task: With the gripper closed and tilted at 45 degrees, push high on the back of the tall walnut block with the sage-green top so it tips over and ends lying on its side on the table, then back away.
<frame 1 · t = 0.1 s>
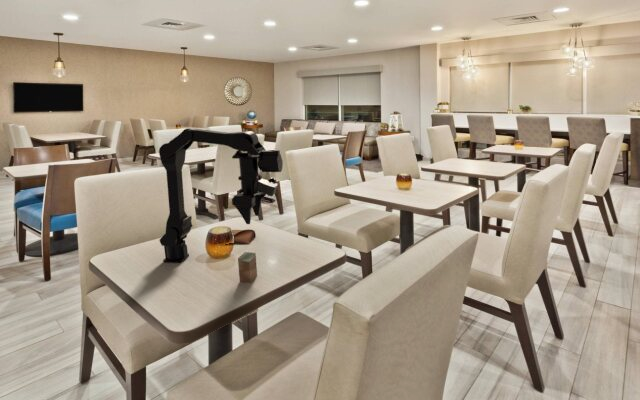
hand: (252, 219, 134), 15 cm above the table, tool pointing down, fingers open, 9 cm apart
walnut block: (248, 278, 125), on the table
sunglasses case: (230, 241, 160), on the table
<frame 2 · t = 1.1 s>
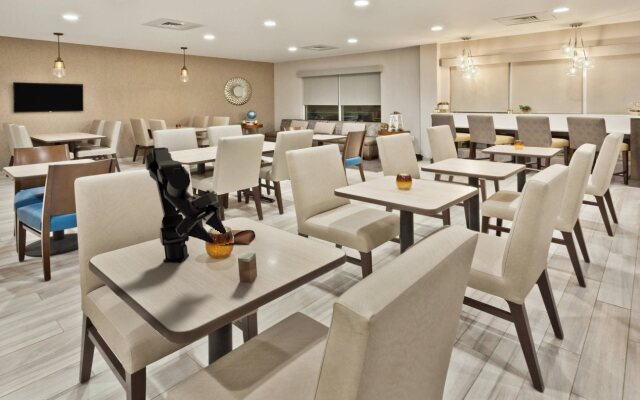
hand: (219, 237, 125), 12 cm above the table, tool tilted 45°, fingers open, 8 cm apart
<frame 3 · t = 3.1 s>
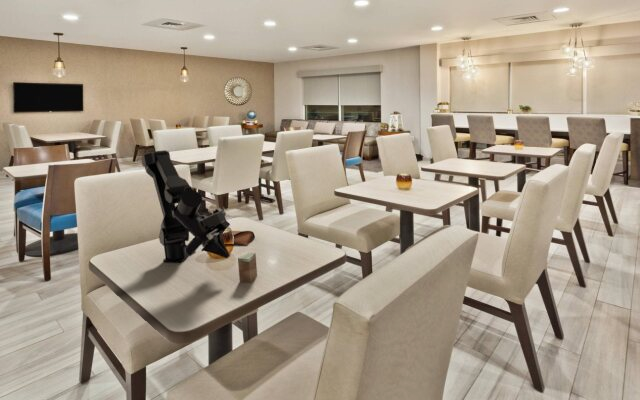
hand: (228, 256, 125), 7 cm above the table, tool tilted 45°, fingers closed
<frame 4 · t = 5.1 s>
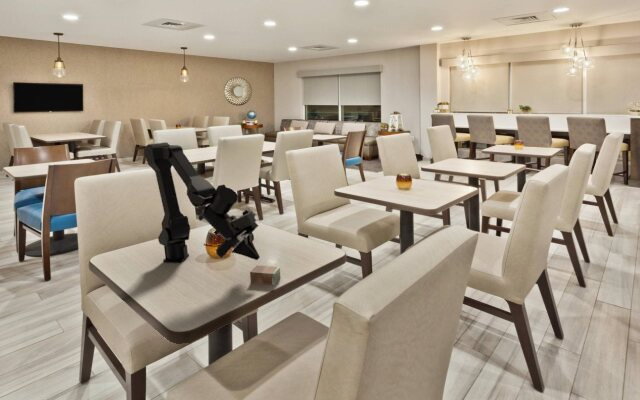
hand: (258, 258, 123), 7 cm above the table, tool tilted 45°, fingers closed
walnut block: (253, 274, 125), point 2 cm above the table, tilted 90°
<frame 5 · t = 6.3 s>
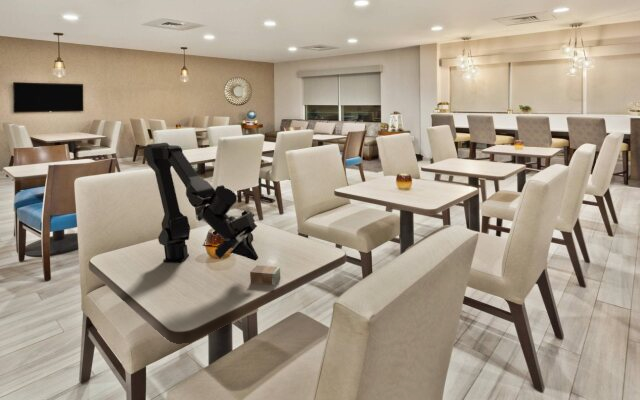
hand: (257, 259, 123), 6 cm above the table, tool tilted 45°, fingers closed
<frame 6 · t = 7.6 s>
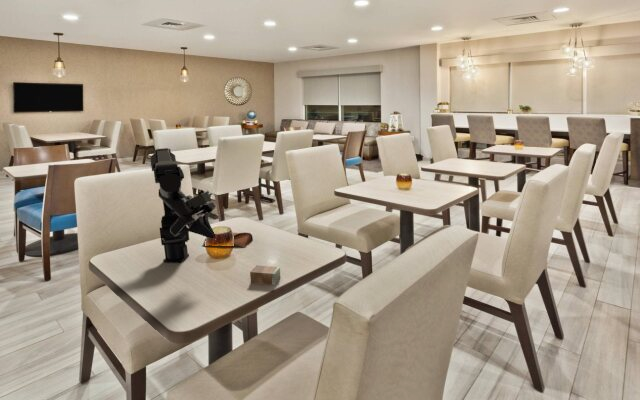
hand: (214, 237, 125), 12 cm above the table, tool tilted 45°, fingers closed
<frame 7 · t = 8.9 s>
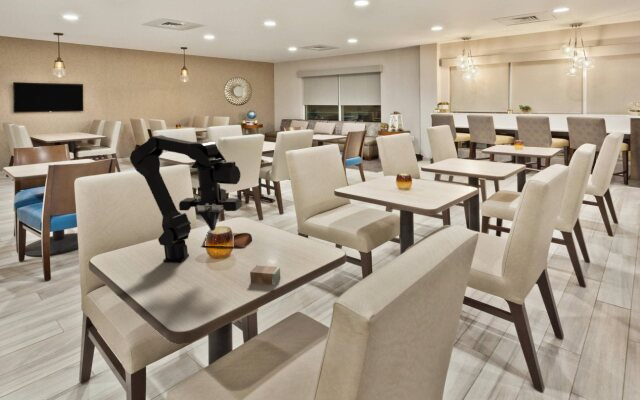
hand: (213, 230, 133), 12 cm above the table, tool pointing down, fingers closed
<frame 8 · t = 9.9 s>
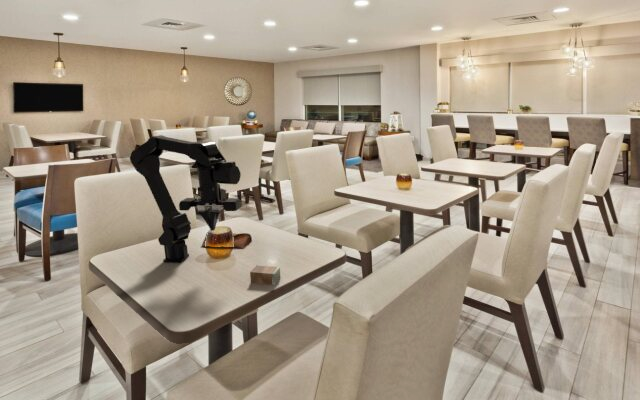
hand: (213, 230, 133), 12 cm above the table, tool pointing down, fingers closed
at the end: walnut block tilted 90°; walnut block inside the target area (2.2 cm from its centre), point 1.6 cm above the table; the gripper is holding nothing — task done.
